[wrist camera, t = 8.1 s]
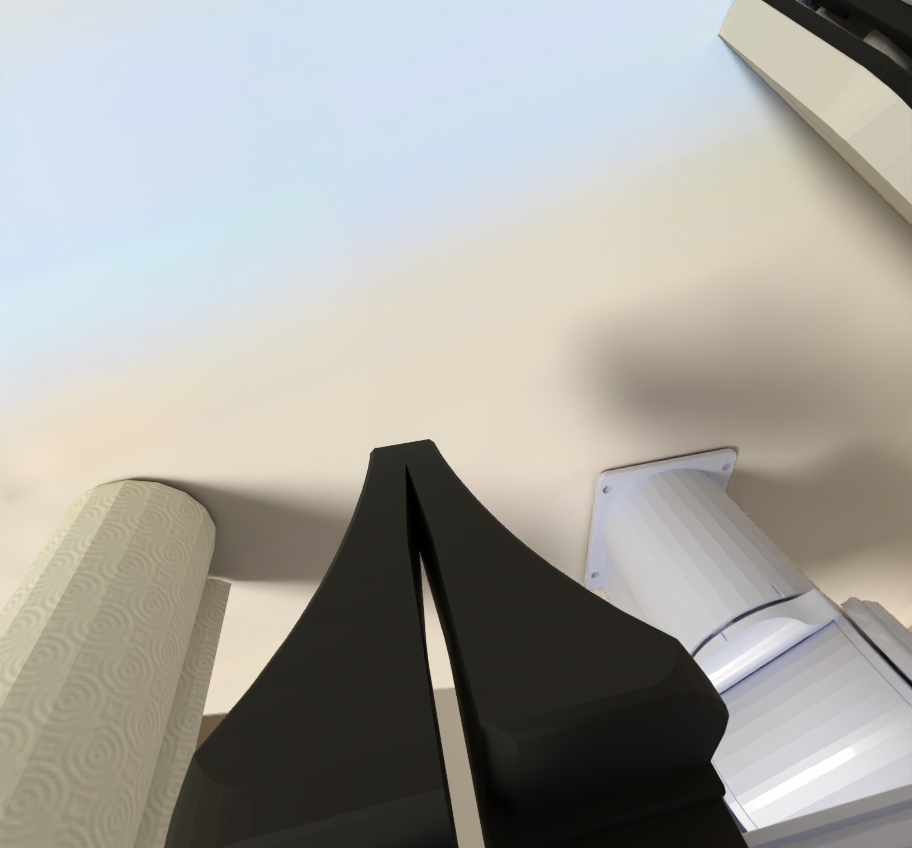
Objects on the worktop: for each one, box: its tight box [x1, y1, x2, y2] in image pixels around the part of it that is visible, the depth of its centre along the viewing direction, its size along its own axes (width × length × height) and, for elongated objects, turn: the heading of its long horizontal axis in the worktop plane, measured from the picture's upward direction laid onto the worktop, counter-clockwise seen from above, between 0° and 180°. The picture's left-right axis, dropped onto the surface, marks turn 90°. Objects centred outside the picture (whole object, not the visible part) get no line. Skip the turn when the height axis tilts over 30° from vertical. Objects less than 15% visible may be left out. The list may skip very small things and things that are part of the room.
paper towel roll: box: [0, 480, 231, 848], centre depth 14 cm, size 7×6×21 cm
